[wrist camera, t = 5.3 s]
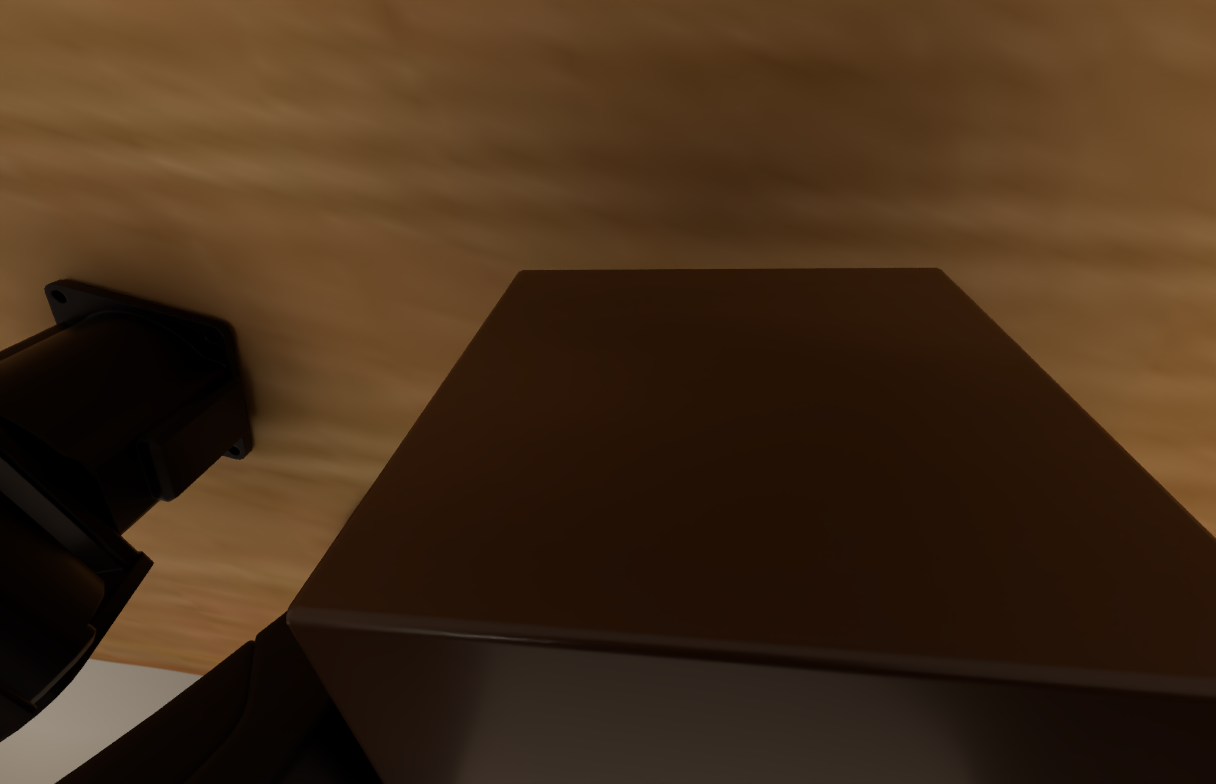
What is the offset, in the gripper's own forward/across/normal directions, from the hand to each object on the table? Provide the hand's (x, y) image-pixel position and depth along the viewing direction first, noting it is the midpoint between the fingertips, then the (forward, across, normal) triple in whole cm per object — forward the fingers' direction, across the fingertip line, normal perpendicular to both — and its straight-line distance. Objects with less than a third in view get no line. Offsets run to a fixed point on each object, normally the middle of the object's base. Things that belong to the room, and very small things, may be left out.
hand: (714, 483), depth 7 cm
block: (+1, 0, 0) cm, 1 cm away
